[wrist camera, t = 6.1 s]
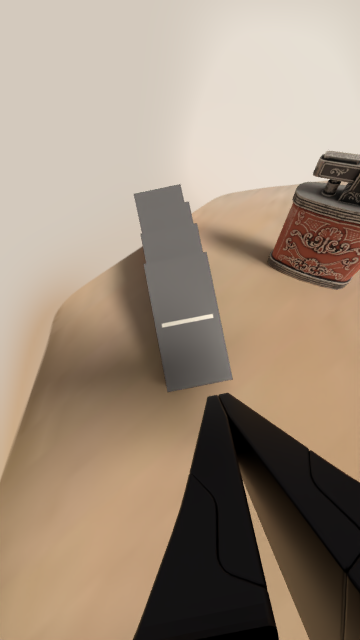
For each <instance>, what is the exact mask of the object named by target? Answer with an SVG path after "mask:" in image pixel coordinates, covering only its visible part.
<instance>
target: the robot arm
mask: <svg viewBox="0 0 360 640" xmlns="http://www.w3.org/2000/svg"><path fill="white" fill-rule="evenodd" d="M242 479H243V480H242ZM243 481H244V484H245V486H246V489H247V491H248V493H249V496H250V498H251V501H252V503H253V505H254V508H255V510H256V512H257V515H258V517H259V520H260V522H261V524H262V527H263V529H264V532H265V534H266V536H267V539H268V541H269V544H270V546H271V548H272V551H273V553H274V556H275V558H276V560H277V563H278V565H279V568H280V570H281V572H282V575H283V577H284V580H285V582H286V584H287V587H288V589H289V591H290V594H291V596H292V599H293V601H294V603H295V606H296V608H297V611H298V613H299V615H300V618H301V620H302V623H303V625H304V627H305V630H306V632H307V635H308V637H309V639H310V640H360V482H358V481H357V480H355V479H353V478H352V477H350V476H349V475H347V474H345V473H344V472H342V471H341V470H339V469H338V468H336V467H335V466H333V465H332V464H330V463H329V462H327V461H326V460H324V459H323V458H322V457H320V456H319V455H317V454H316V453H314V452H313V451H311V450H310V451H309V449H308V448H307V447H306V446H304V445H303V444H301V443H300V442H298V441H297V440H295V439H294V438H293V437H291V436H290V435H288V434H287V433H285V432H284V431H283V430H281V429H280V428H278V427H277V426H275V425H274V424H272V423H271V422H270V421H268V420H267V419H265V418H264V417H262V416H261V415H259V414H258V413H257V412H255V411H254V410H252V409H251V408H249V407H248V406H247V405H245V404H244V403H242V402H241V401H239V400H238V399H236V398H235V397H234V396H232V395H231V394H229V393H224V394H220V395H219V396H217V395H214V396H209V397H208V398H207V402H206V406H205V410H204V414H203V418H202V423H201V427H200V431H199V435H198V439H197V444H196V448H195V452H194V456H193V460H192V464H191V469H190V474H189V476H188V481H187V485H186V489H185V492H184V496H183V500H182V503H181V507H180V510H179V513H178V516H177V519H176V522H175V525H174V529H173V532H172V535H171V537H170V540H169V543H168V546H167V548H166V551H165V554H164V557H163V559H162V562H161V565H160V568H159V571H158V573H157V576H156V579H155V582H154V584H153V587H152V590H151V593H150V596H149V598H148V601H147V604H146V607H145V609H144V612H143V615H142V617H141V620H140V623H139V625H138V628H137V631H136V633H135V635H134V638H133V640H279V638H278V631H277V627H276V623H275V619H274V615H273V611H272V607H271V602H270V598H269V594H268V591H267V585H266V581H265V576H264V572H263V567H262V563H261V559H260V554H259V550H258V546H257V541H256V537H255V533H254V528H253V524H252V520H251V515H250V511H249V507H248V502H247V498H246V493H245V489H244V485H243Z"/></svg>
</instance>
